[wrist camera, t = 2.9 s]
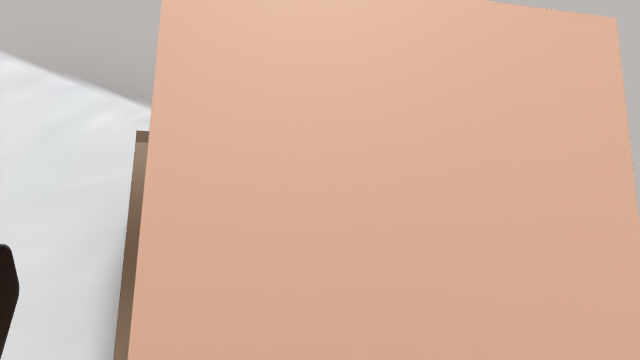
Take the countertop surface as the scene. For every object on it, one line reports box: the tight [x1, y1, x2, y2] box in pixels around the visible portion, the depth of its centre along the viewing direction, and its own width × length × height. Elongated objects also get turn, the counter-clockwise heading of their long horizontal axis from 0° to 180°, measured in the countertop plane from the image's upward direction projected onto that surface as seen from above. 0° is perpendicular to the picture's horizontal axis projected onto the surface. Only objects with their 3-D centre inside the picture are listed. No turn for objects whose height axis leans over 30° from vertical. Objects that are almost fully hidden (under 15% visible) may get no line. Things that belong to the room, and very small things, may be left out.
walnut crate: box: [114, 131, 149, 360], centre depth 15 cm, size 6×8×4 cm
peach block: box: [128, 0, 640, 360], centre depth 11 cm, size 4×4×13 cm
